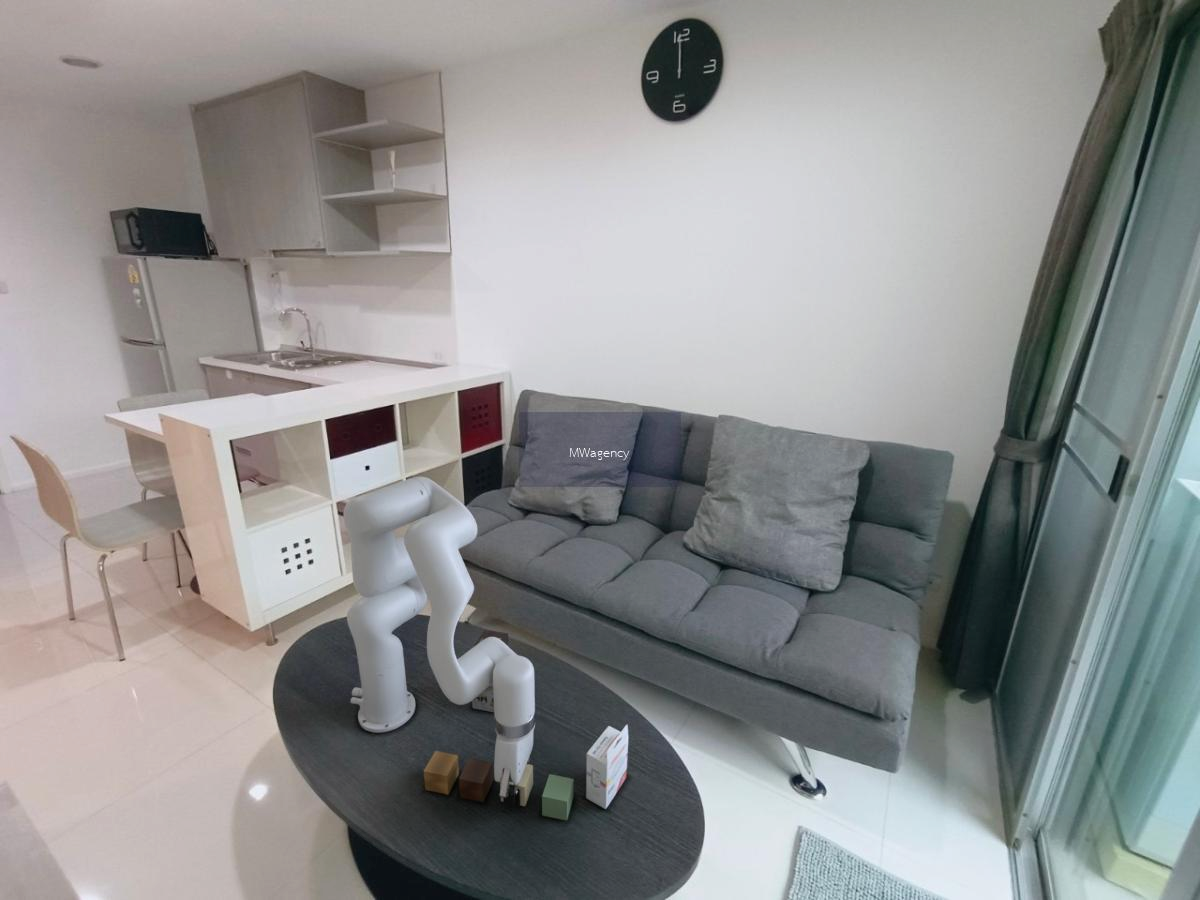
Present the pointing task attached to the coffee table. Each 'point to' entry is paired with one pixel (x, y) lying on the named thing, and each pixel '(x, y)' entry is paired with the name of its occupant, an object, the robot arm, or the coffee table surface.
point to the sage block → (557, 797)
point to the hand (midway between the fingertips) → (517, 790)
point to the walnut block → (476, 779)
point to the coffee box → (486, 697)
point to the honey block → (441, 772)
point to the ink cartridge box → (607, 766)
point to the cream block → (524, 784)
